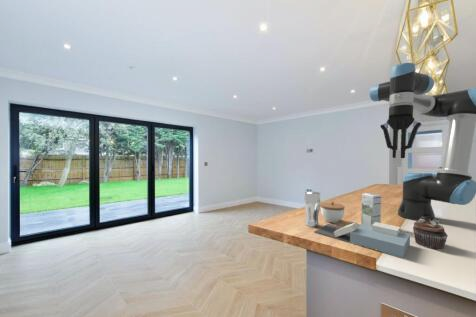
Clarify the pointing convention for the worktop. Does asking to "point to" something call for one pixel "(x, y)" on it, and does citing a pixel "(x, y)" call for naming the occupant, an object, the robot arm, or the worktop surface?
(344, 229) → the front tile
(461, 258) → the worktop surface
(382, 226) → the rear tile
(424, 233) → the cupcake
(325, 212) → the lidded jar
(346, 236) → the mat
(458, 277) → the worktop surface
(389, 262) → the worktop surface
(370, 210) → the syrup box
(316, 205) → the beer glass
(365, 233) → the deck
